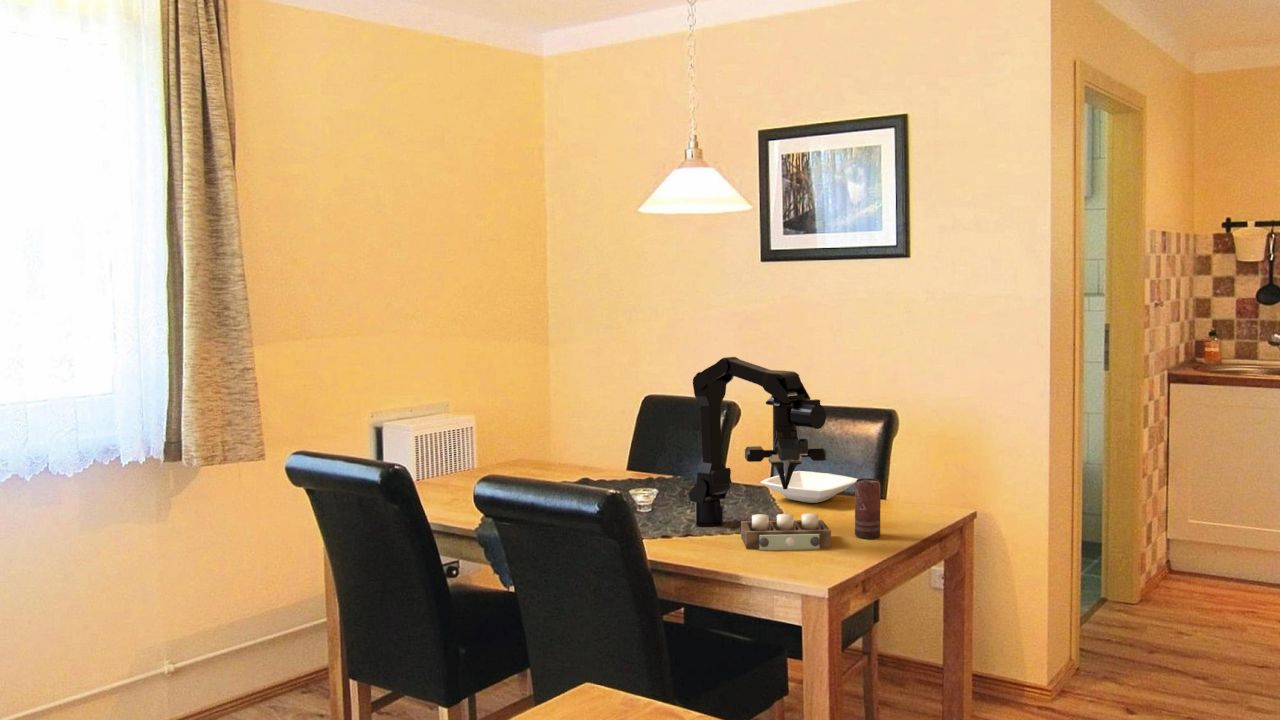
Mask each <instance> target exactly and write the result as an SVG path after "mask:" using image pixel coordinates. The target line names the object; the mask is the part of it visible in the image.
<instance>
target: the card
mask: <svg viewBox="0 0 1280 720" xmlns="http://www.w3.org/2000/svg"><path fill="white" fill-rule="evenodd" d="M759 543H760V549H759V551H785V550H786V551H790V550H791V551H793V550H797V551H798V550H800V551H802V550H804V551H805V550H820V548H819V543H820V540H819V534H789V535H760V541H759Z"/></svg>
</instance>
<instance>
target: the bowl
mask: <svg viewBox="0 0 1280 720" xmlns="http://www.w3.org/2000/svg"><path fill="white" fill-rule="evenodd" d="M784 475H785V473H784ZM858 479H859V478H855V477H851V476H847V475H840V474H834V473H833V474H832V473H828V472H827V473H826V472H825V473H824V472H818V471H817V472H816V471H808V470H807V471H803V470H797V471H796V470H794V471H793V473H792V476H791V479H790V482H789V485H788V488H787V489H783V487H782V484H781V481H780V478H779V475H776V476H772V477H768V478H764V479H763V480H761V481H760V483H761V484H762V485H764V486H765V487H766V488H768V489H770V490H771V491H772V492H776V493H780V495H782V496H783V497H785V498H786V499H787V500H792V501H797V502H803V503H810V504H811V503H812V504H818V503H821V502H824V501H828V500H830V499H831V498H833V497H834V496H835V495H837V494H839V493H842V492H844V491H845V490H846V489H848V488H850V487H851V486H853V485H855V483H856V481H857V480H858Z"/></svg>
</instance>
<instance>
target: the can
mask: <svg viewBox="0 0 1280 720" xmlns="http://www.w3.org/2000/svg"><path fill="white" fill-rule="evenodd" d="M857 479H858V480H857V481H856V482H855V483H854V535H855V537H856V538H858V539H863V540H875V539H878V538H880V536H881V504H882V503H881V499H882V498H881V493H882V491H881V489H882V488H881V486H882V485H881V482H880V480H879V479H876V478H857Z"/></svg>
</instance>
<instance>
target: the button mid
mask: <svg viewBox="0 0 1280 720" xmlns="http://www.w3.org/2000/svg"><path fill="white" fill-rule="evenodd" d="M794 517H795V516H794V514H791V513H779V514H776V521H777V529H780V530H791V529H793V528H794Z"/></svg>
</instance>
